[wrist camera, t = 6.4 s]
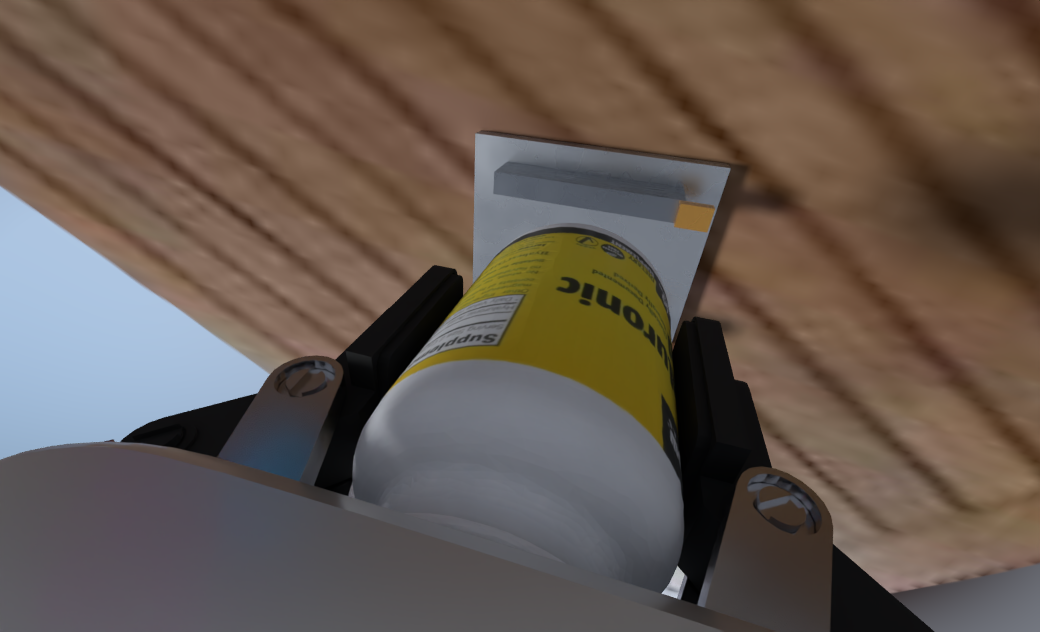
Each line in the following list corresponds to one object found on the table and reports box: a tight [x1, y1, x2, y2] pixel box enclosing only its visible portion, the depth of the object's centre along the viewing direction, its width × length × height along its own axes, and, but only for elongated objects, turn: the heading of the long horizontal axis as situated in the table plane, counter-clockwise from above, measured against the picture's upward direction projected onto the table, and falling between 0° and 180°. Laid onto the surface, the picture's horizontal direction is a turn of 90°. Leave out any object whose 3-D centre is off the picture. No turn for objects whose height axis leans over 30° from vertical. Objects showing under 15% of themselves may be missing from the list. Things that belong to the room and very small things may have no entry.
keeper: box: [473, 131, 731, 340], centre depth 26 cm, size 14×12×4 cm
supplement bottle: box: [352, 223, 684, 593], centre depth 9 cm, size 5×5×10 cm
